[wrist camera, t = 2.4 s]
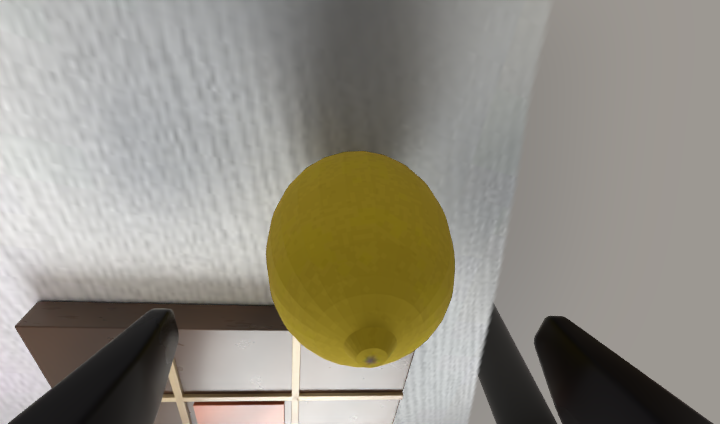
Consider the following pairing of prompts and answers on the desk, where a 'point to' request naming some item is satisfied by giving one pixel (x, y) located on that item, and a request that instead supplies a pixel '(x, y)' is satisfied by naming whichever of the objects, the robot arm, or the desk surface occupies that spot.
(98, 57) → the desk surface
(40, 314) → the board
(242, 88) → the desk surface
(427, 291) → the lemon
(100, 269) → the desk surface
